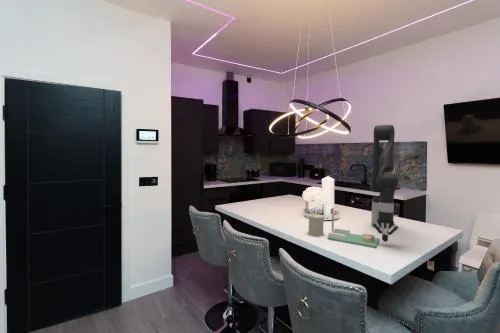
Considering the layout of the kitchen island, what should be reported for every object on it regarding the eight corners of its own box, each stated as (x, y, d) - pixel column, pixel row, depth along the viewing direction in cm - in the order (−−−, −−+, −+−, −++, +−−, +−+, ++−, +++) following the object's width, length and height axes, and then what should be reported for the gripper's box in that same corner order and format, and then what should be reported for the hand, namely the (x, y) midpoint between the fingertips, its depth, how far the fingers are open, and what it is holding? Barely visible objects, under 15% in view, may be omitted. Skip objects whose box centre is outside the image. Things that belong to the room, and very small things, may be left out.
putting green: (334, 232, 170) (334, 230, 170) (379, 239, 156) (379, 238, 156) (327, 239, 157) (327, 237, 157) (375, 248, 143) (375, 246, 143)
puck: (363, 238, 156) (363, 233, 156) (374, 240, 153) (374, 234, 153) (361, 240, 151) (361, 235, 151) (373, 242, 148) (373, 237, 148)
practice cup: (334, 231, 169) (334, 205, 168) (349, 234, 164) (350, 207, 163) (328, 236, 158) (329, 209, 157) (344, 239, 153) (345, 211, 152)
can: (305, 232, 169) (305, 214, 169) (317, 231, 172) (318, 213, 172) (313, 237, 161) (314, 217, 160) (326, 235, 164) (327, 216, 163)
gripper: (400, 210, 146) (398, 241, 147) (373, 207, 153) (372, 237, 154) (399, 213, 140) (398, 245, 141) (372, 210, 147) (370, 240, 148)
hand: (384, 241), depth 148 cm, fingers closed
